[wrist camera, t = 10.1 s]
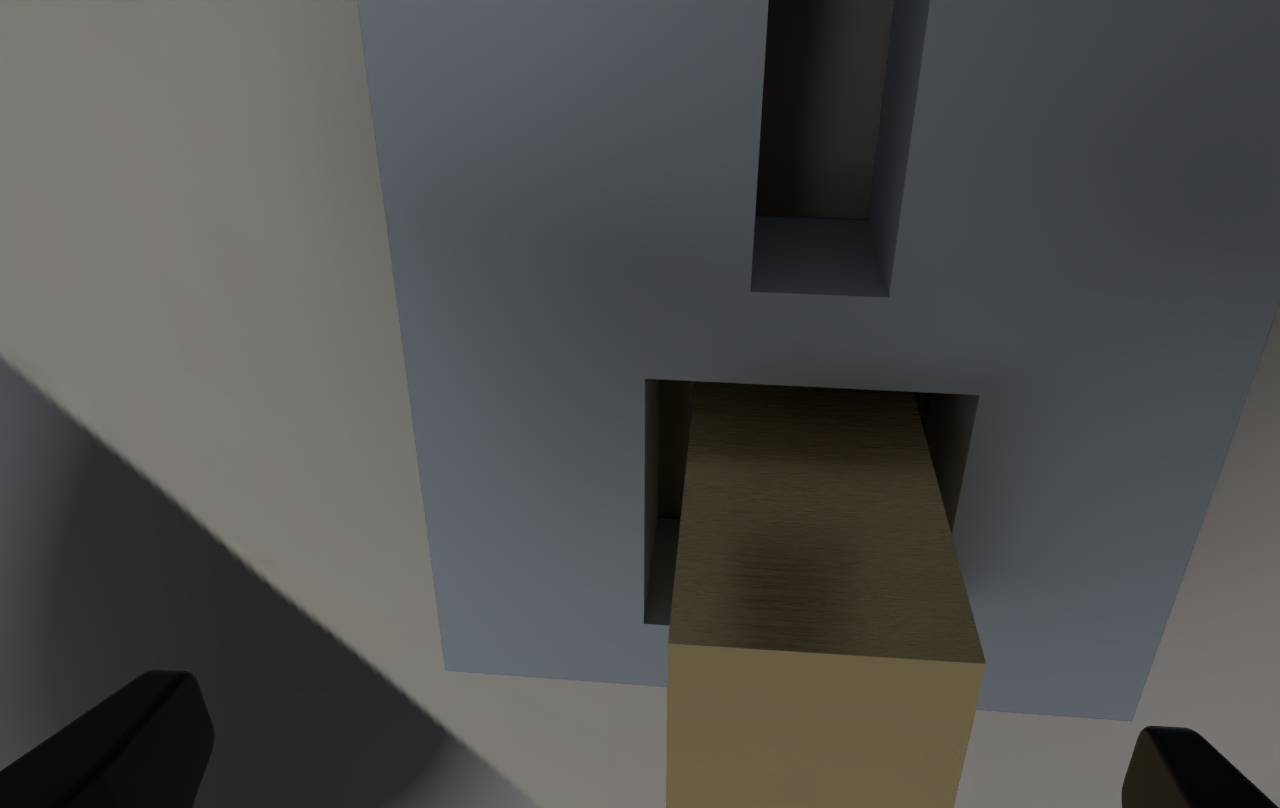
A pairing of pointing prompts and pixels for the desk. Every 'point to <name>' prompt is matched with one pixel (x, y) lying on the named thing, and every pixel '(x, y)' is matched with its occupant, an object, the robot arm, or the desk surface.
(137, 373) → the desk surface
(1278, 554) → the desk surface
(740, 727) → the brass square bit
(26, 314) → the desk surface
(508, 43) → the slate bore board
